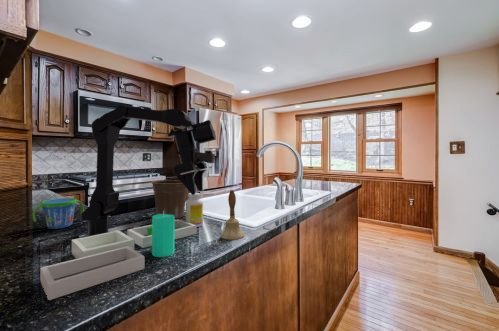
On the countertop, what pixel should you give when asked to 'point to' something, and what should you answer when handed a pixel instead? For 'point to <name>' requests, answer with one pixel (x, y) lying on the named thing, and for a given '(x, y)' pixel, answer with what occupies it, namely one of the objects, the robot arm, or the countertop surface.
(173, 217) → the candle
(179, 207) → the plant pot
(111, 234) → the bin
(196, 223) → the supplement bottle
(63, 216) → the snack cup
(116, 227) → the countertop surface
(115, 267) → the grey rectangular frame
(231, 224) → the hand bell
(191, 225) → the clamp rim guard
